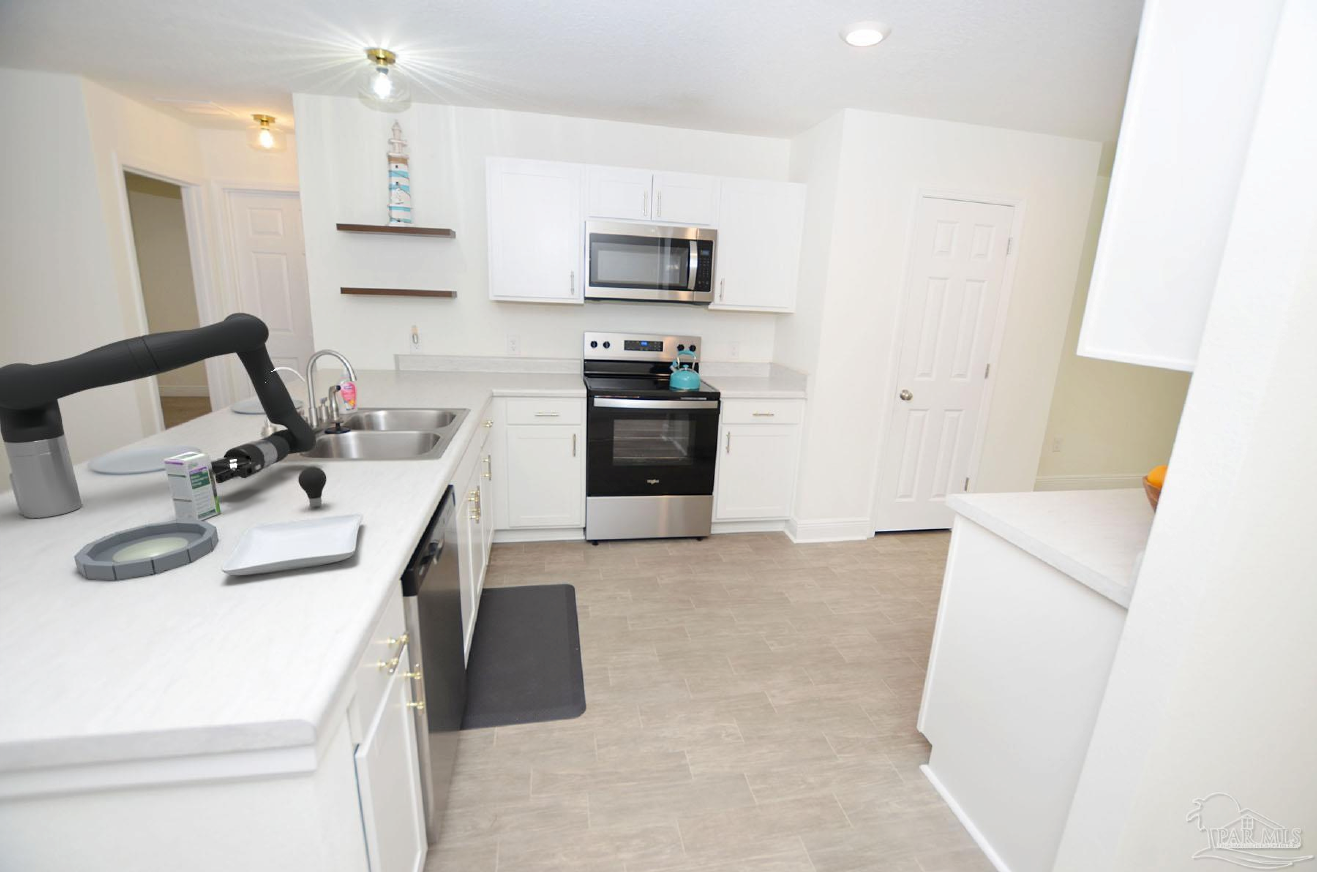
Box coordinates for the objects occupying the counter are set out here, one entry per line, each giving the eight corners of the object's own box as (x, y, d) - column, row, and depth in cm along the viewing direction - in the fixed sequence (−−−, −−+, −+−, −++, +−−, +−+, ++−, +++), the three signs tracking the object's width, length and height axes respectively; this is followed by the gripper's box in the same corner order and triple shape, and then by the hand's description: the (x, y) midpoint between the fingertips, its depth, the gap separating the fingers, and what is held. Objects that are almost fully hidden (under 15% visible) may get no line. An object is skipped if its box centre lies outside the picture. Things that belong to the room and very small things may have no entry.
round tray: (47, 577, 101) (43, 562, 101) (149, 530, 121) (146, 518, 120) (156, 582, 101) (152, 567, 100) (241, 534, 120) (239, 522, 119)
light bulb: (301, 513, 132) (295, 472, 129) (303, 505, 136) (297, 465, 134) (329, 509, 134) (324, 469, 132) (330, 501, 139) (325, 462, 136)
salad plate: (251, 539, 119) (248, 523, 118) (364, 525, 127) (363, 510, 126) (221, 587, 100) (218, 570, 99) (357, 567, 108) (355, 551, 107)
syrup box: (197, 523, 125) (185, 460, 121) (175, 520, 126) (162, 457, 122) (221, 513, 130) (210, 452, 127) (200, 510, 132) (188, 450, 128)
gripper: (221, 442, 143) (164, 461, 127) (277, 444, 142) (226, 463, 127) (226, 470, 145) (171, 492, 129) (281, 472, 144) (232, 495, 129)
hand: (198, 478), depth 128 cm, fingers open, 8 cm apart
